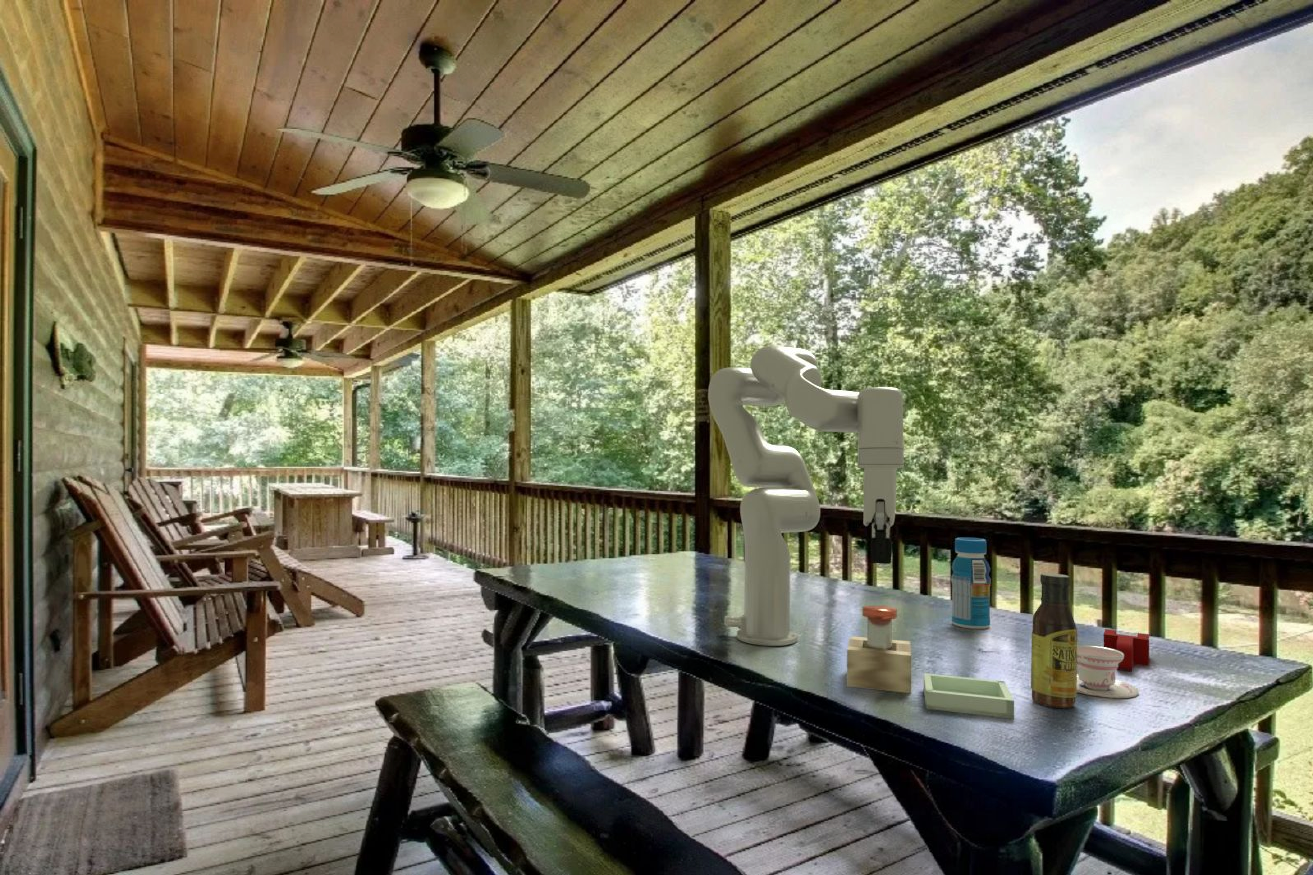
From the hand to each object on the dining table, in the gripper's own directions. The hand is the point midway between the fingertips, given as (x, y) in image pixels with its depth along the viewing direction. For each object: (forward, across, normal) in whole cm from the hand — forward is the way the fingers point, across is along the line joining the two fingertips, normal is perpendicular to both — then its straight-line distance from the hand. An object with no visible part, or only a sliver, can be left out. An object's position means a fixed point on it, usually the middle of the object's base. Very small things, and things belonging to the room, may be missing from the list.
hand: (881, 560), depth 122 cm
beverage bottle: (+20, -54, +18) cm, 60 cm away
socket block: (+20, 0, -1) cm, 21 cm away
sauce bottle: (+21, +2, +25) cm, 33 cm away
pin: (+20, 0, -1) cm, 21 cm away
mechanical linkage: (+21, -30, +43) cm, 57 cm away
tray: (+21, +6, +12) cm, 25 cm away
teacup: (+21, -10, +34) cm, 41 cm away
